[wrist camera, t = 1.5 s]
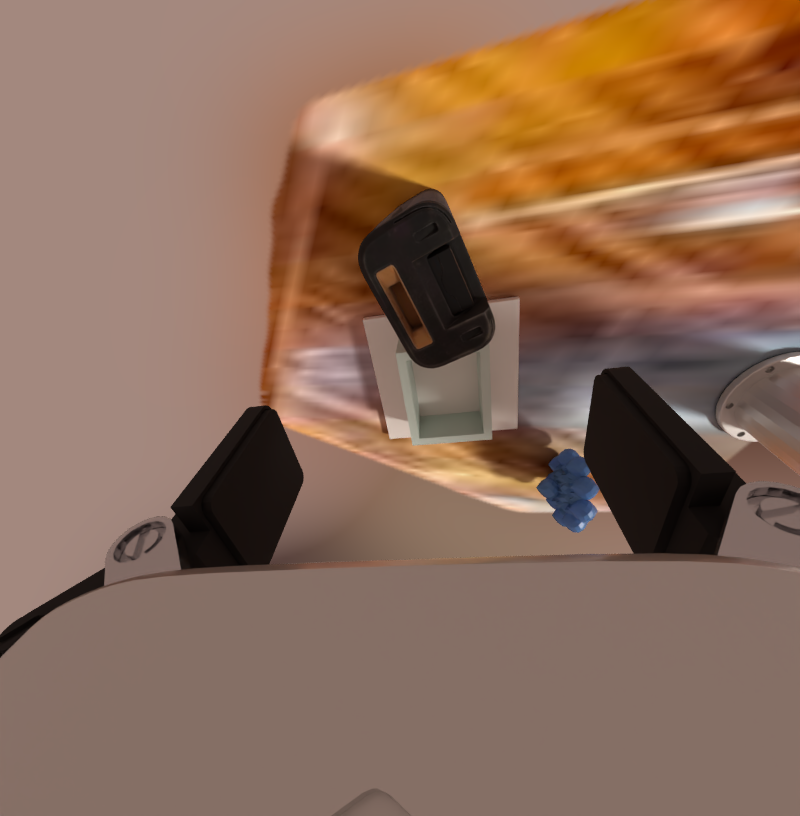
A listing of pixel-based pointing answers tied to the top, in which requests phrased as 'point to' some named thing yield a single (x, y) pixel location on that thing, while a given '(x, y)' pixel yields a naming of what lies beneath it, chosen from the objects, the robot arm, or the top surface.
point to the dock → (449, 384)
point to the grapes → (570, 490)
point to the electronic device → (427, 282)
